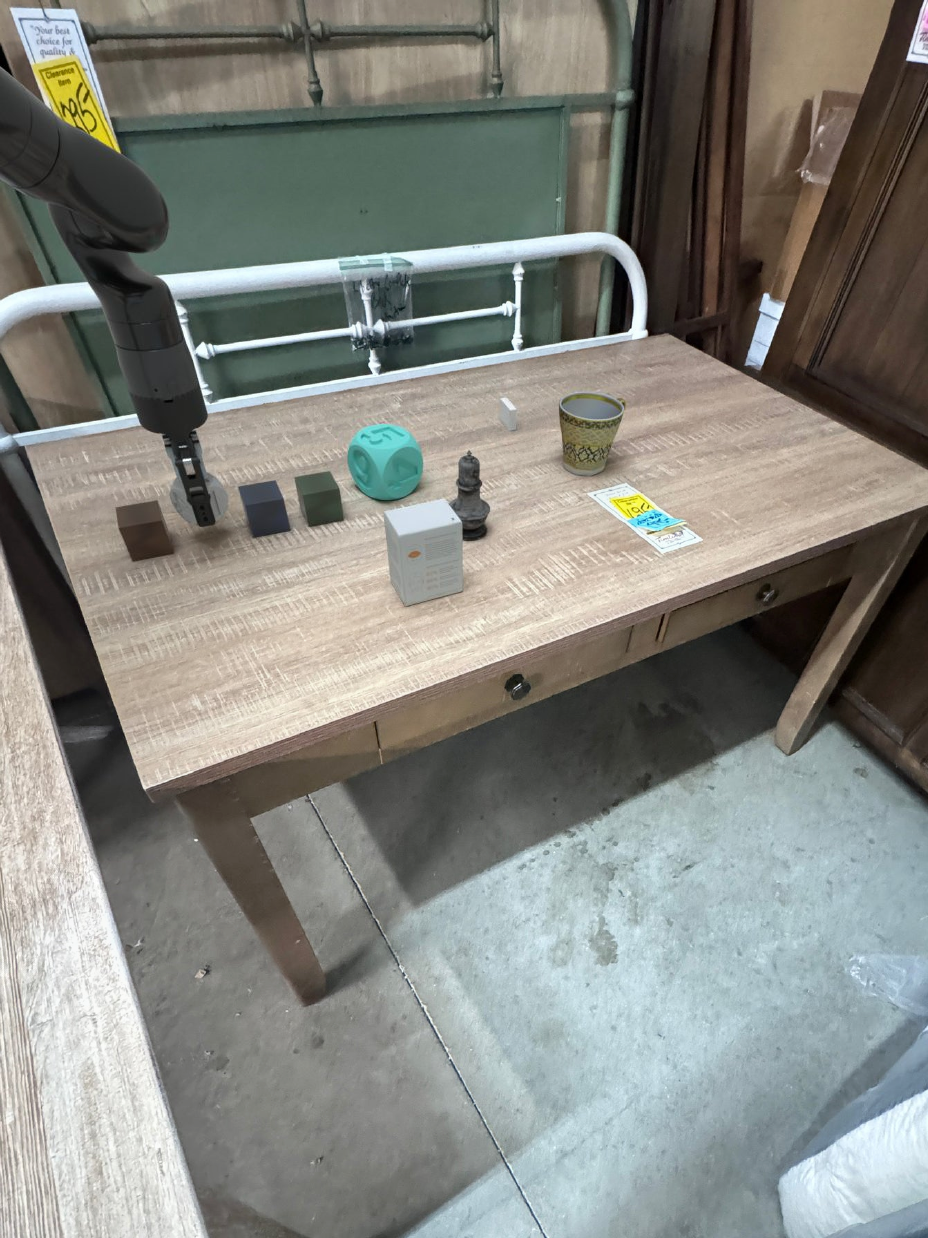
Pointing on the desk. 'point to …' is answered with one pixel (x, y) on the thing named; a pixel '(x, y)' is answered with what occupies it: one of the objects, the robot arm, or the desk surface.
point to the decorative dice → (385, 461)
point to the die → (212, 483)
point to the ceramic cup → (588, 430)
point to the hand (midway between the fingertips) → (202, 509)
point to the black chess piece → (470, 499)
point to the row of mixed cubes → (261, 508)
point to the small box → (424, 551)
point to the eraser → (508, 414)
